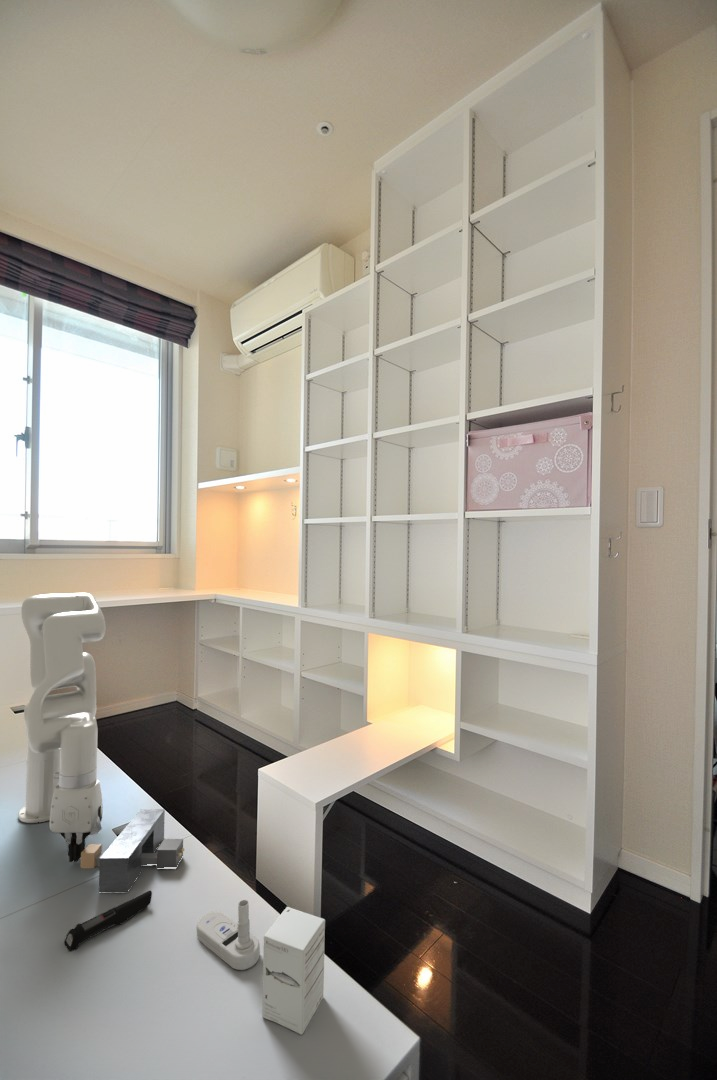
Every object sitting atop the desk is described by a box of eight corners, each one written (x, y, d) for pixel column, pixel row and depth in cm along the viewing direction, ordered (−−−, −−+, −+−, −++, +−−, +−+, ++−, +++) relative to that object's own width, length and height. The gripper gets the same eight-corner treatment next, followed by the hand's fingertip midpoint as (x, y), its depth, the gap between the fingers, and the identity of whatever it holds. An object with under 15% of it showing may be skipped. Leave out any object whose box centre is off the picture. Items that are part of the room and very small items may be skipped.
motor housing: (98, 893, 104) (99, 858, 104) (140, 838, 124) (140, 809, 124) (127, 893, 104) (128, 858, 104) (164, 838, 124) (164, 809, 124)
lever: (79, 869, 111) (79, 849, 112) (89, 857, 116) (90, 838, 116) (178, 869, 112) (179, 849, 112) (185, 857, 116) (185, 838, 116)
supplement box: (260, 1019, 76) (261, 934, 76) (286, 981, 83) (287, 903, 83) (302, 1038, 73) (303, 950, 73) (325, 997, 80) (326, 917, 80)
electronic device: (215, 869, 97) (265, 901, 88) (215, 920, 97) (265, 958, 87) (191, 883, 93) (240, 918, 84) (191, 937, 93) (241, 978, 83)
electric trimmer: (155, 910, 99) (155, 894, 100) (70, 954, 88) (70, 936, 88) (146, 901, 102) (147, 885, 102) (63, 943, 91) (63, 925, 91)
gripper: (35, 784, 110) (33, 868, 110) (102, 785, 110) (100, 869, 110) (55, 770, 118) (54, 848, 117) (118, 770, 118) (116, 849, 117)
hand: (76, 858), depth 114 cm, fingers closed
